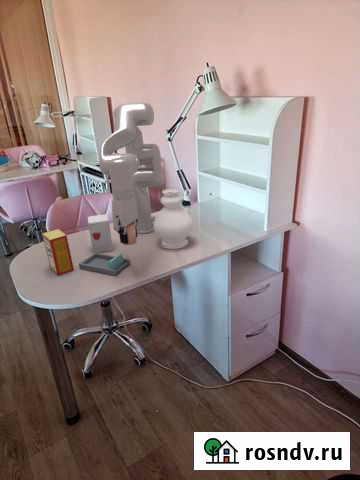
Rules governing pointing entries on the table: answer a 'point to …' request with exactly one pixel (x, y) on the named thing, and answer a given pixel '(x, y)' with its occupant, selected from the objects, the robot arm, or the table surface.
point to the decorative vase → (172, 221)
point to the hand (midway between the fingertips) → (129, 239)
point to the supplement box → (100, 233)
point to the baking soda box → (58, 252)
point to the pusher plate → (116, 262)
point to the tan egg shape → (130, 233)
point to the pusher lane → (102, 264)
